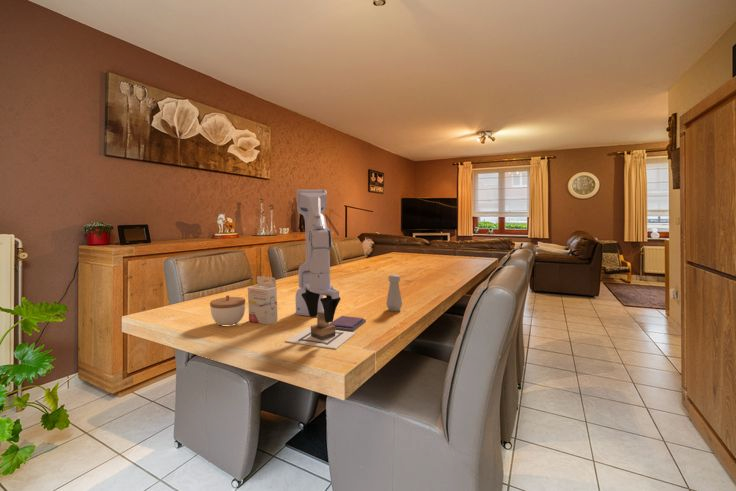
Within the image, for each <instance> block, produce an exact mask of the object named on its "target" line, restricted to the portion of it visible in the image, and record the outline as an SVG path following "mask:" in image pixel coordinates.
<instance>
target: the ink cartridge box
mask: <svg viewBox="0 0 736 491" xmlns="http://www.w3.org/2000/svg"><path fill="white" fill-rule="evenodd" d="M256 280H257V284H255V285H252V286H248V287H247V300H248V301H247V302H248V303H247V304H248V306H247V307H248V322H249V321H252V322H251V323H255V322H257V324H261V323H262V325H267V324H268V325H271V324H272V323H275V322H277V321H278V296H277V292H278V290H277V288H278V287H277V283H276V282H277V281H276V278H275V277H269V276H256ZM268 325H267V326H268Z"/></svg>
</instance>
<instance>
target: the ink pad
mask: <svg viewBox="0 0 736 491" xmlns="http://www.w3.org/2000/svg"><path fill="white" fill-rule="evenodd" d="M366 322H367V321H366V319H365V318H363V317H356V316H346V315H341V316H339V317H338V318H336V319H334V320H333V322H329V324H331V325H334V326H335V330H339V331H347V332H355V331H356V330H357V329H359V328H360V327H361V326H362V325H364V324H365V323H366Z"/></svg>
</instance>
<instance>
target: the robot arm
mask: <svg viewBox="0 0 736 491" xmlns="http://www.w3.org/2000/svg"><path fill="white" fill-rule="evenodd" d="M327 205H328V193H327V190H325V189H324V188H323V189H300V188H298V189H297V190H296V206H297V207H296V210H297V212H298V214H300V215H302V216H303V218H304V232H305V233H304V234H305V235H304V236H305V261H304V262H303V263H302V264H300V265H299V267H298V274H297V275H298V278H297V279H298V287H299V288H298V289H297V290H296V292H295V312H294V315H297V316H308V317H310V318H315V317H316V318H317V312H319V311H324V316H325V322H326V323H329V324H330V323H331V322H333V321H334V318H335V313H336V310H337V307H338V305H339V304H340V301H341V296H340V290H337V289H336V288H334V285H332V284H331V249H332V245H333V244H332V243H333V240H332V238H333V237H332V231H331V229H330V228H329V227H328V224H327V219H326V217H325V216H324V213H325V210H326V208H327ZM324 296H325V297H324Z"/></svg>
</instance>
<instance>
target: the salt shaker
mask: <svg viewBox="0 0 736 491" xmlns="http://www.w3.org/2000/svg"><path fill="white" fill-rule="evenodd" d="M387 280H388V282H389V286H388V292H387V299H386V307H387V309H388V311H390V312H399V311H400V310H401V308H402V306H403V300H402V294H401V290H400V285H399V282H400V281H401V276H400V275H399V274H390V275H388V279H387Z"/></svg>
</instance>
